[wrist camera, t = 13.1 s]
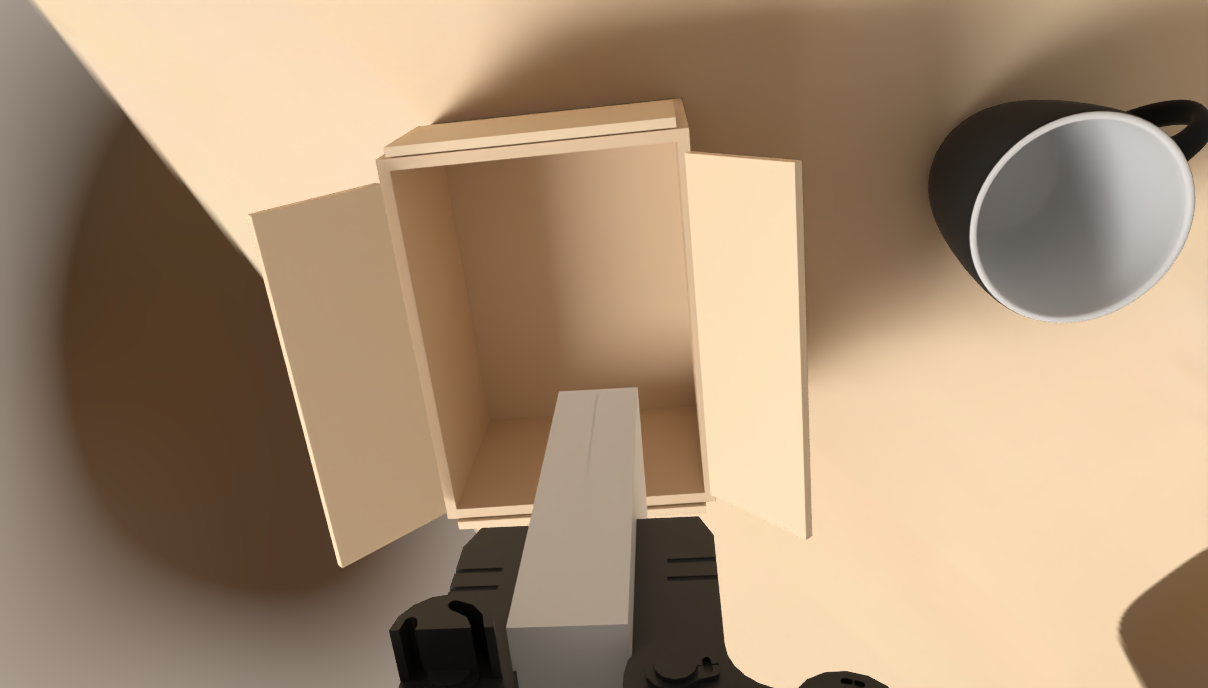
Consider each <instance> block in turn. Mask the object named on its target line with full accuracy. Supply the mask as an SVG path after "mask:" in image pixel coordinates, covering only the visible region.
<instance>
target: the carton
mask: <svg viewBox="0 0 1208 688" xmlns="http://www.w3.org/2000/svg"><path fill="white" fill-rule="evenodd" d="M690 151H691V150H690V136H689V126H688V122H687V118H686V114H685V110H684V106H683V102H682V98H677V99H668V100H658V101H649V102H639V103H630V104H620V105H611V106H602V107H592V108H583V109H573V110H564V111H554V112H545V113H536V114H526V115H517V116H507V117H498V118H488V119H479V120H470V121H460V122H451V123H441V124H432V125H427V126H418V127H416V128H415V129H413V130H411V131H410V132H408V133H406V134H405V135H403V136H402V137H400V138H398V139H397V140H395V141H393V142H392V143H390V144H389V145H387V146H385V147H384V153H385V154H384V155H383V156H381V157H380V158H378V159H376V165H377V170H378V175H379V180H380V185H381V190H382V194H383V199H384V204H385V209H386V214H387V219H388V224H389V229H390V234H391V239H392V244H393V249H394V254H395V259H396V264H397V268H398V273H399V278H400V283H401V288H402V293H403V298H404V303H405V308H406V313H407V318H408V323H409V328H410V333H411V338H412V343H413V347H414V352H415V357H416V362H417V367H418V372H419V377H420V382H421V387H422V392H423V397H424V402H425V407H426V412H427V417H428V421H429V426H430V431H431V436H432V441H433V446H434V451H435V456H436V461H437V466H438V471H439V476H440V481H441V486H442V491H443V496H444V500H445V505H446V510H447V515H448V519H456V518H459V521H458V526H459V529H473V528H488V527H503V526H519V525H529V523H530V519H531V514H532V510H533V505H534V501H535V496H536V492H537V487H538V483H539V478H540V474H541V469H542V465H543V460H544V456H545V452H546V447H547V443H548V438H549V434H550V429H551V425H552V420H553V416H554V411H555V407H556V402H557V398H558V393H559V391H577V390H595V389H614V388H632V387H638V398H639V411H640V423H641V436H642V448H643V461H644V473H645V486H646V499H647V517H656V516H671V515H687V514H702V513H706V502H711V501H716V497H714V496H712V495H710V483H709V469H708V456H707V443H706V430H705V416H704V403H703V390H702V377H701V363H700V350H699V337H698V323H697V310H696V297H695V284H694V270H693V257H692V244H691V231H690V217H689V204H688V191H687V178H686V164H685V153H687V152H690Z"/></svg>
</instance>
